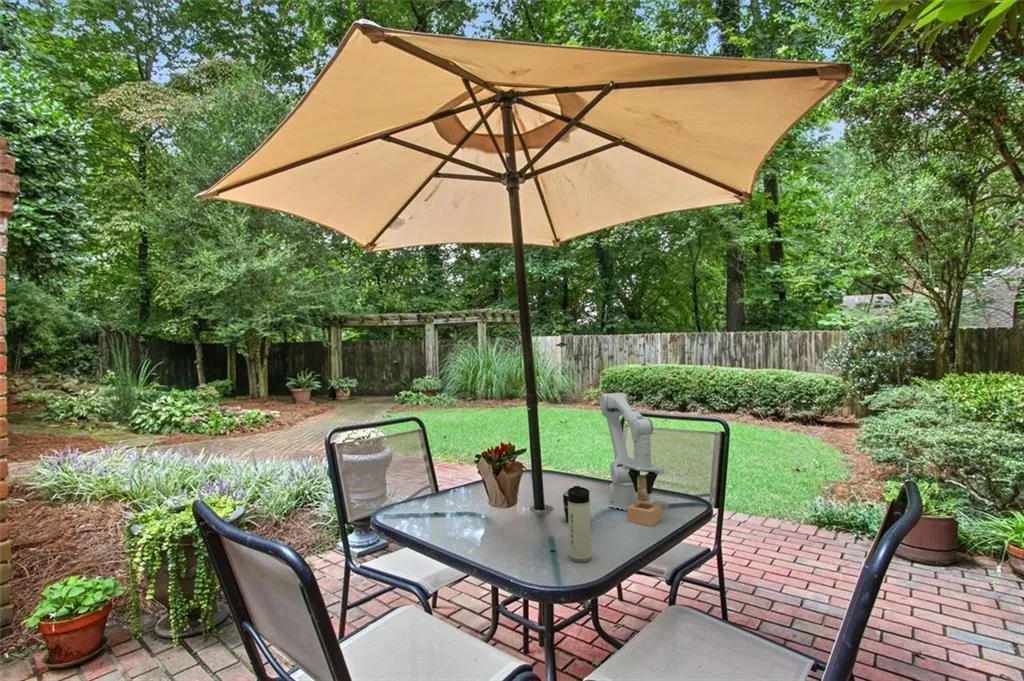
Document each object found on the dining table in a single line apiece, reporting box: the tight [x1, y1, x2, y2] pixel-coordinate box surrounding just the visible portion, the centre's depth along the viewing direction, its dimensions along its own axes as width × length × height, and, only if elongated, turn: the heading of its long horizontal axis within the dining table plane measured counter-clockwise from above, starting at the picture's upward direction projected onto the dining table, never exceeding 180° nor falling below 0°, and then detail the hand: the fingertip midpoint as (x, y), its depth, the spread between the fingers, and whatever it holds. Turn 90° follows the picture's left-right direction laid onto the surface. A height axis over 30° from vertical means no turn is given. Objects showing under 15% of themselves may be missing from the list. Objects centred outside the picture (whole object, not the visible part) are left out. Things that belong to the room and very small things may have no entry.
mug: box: [562, 489, 569, 524], centre depth 170 cm, size 12×9×10 cm
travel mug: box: [567, 485, 592, 564], centre depth 142 cm, size 6×7×20 cm
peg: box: [636, 474, 651, 502], centre depth 171 cm, size 4×4×8 cm
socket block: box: [626, 500, 663, 528], centre depth 171 cm, size 9×9×5 cm
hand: (643, 492), depth 172 cm, fingers closed on peg, 4 cm apart
